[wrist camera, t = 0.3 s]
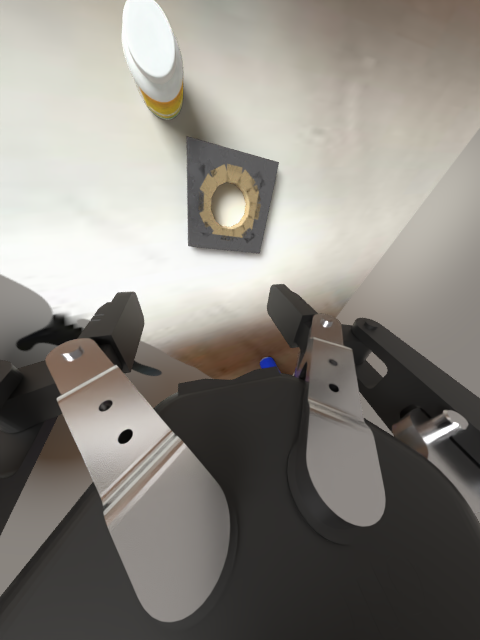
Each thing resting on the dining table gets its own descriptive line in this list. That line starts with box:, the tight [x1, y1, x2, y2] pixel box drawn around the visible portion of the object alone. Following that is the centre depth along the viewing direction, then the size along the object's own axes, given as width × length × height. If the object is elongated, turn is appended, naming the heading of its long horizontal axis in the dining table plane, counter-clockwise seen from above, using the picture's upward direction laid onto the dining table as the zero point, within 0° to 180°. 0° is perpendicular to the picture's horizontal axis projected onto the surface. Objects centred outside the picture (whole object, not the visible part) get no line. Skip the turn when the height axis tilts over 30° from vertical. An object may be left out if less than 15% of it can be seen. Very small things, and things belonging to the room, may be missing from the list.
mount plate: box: [187, 136, 279, 253], centre depth 30 cm, size 14×14×2 cm
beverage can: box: [260, 357, 280, 372], centre depth 56 cm, size 5×5×15 cm
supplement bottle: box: [122, 0, 183, 120], centre depth 18 cm, size 5×5×10 cm
